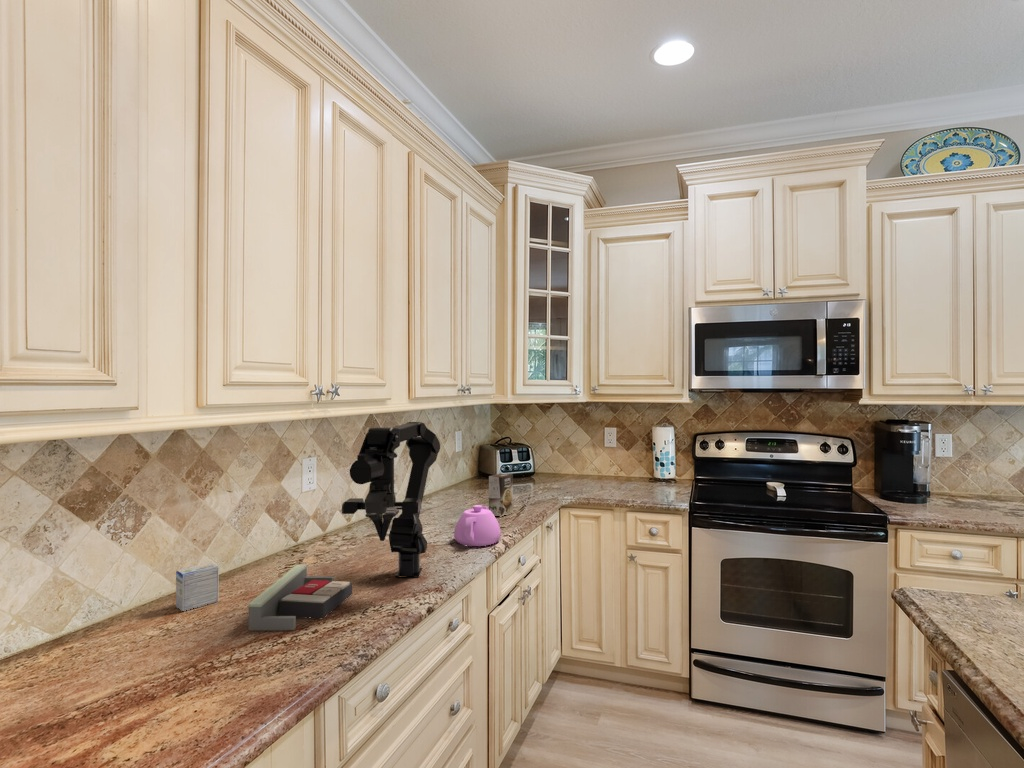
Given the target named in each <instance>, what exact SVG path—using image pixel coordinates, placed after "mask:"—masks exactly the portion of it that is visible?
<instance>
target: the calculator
mask: <svg viewBox="0 0 1024 768" xmlns="http://www.w3.org/2000/svg"><path fill="white" fill-rule="evenodd" d="M351 594H352V595H353V583H351V582H350V581H343V580H342V581H341V580H334V581H332V582H330V581H323V580H312V581H310V582H308V583H307V584H305V585H303V586H301V587H300V588H298V589H296V590H295V591H293V592H292V594H289V595H287V596H286V597H284V598H282V599H281V600H280V601H279V605H278V614H277V616H296V617H307V618H306V619H312V618H324V617H325V616H326V615H327V614H329V613H330V612H331V611H332V610H333V609H334V610H335V609H337V608H338V607H339V606H340V605H342V604H343V603H344V602H345V601H346V600H347V599H346V598H348V597H349V596H350V595H351ZM352 595H351V596H352ZM351 596H350V597H351ZM350 597H349V598H350ZM349 598H348V599H349ZM345 599H346V600H345ZM344 600H345V601H344ZM343 601H344V602H343ZM342 602H343V603H342ZM341 603H342V604H341ZM339 604H340V605H339ZM338 605H339V606H338ZM337 606H338V607H337ZM334 610H333V611H334ZM333 611H332V612H333ZM332 612H331V613H332ZM331 613H330V614H331ZM330 614H329V615H330ZM309 617H311V618H309ZM325 618H326V617H325ZM325 618H324V619H325Z"/></svg>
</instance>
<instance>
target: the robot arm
mask: <svg viewBox="0 0 1024 768" xmlns="http://www.w3.org/2000/svg"><path fill="white" fill-rule="evenodd" d="M405 441H406V442H405ZM402 442H405V445H406V447H407V448H408V456H409V458H410V461H411V470H410V474H409V478H408V483H407V488H406V492H405V496H404V497H405V498H404V500H402V501H397V500H396V495H395V494H396V493H395V458H397V457H398V454H397V453H396V452H395V451H396V449H397V448H399V447H400V446H401V443H402ZM440 450H441V443H440V440H439V438H438V436H437V434H436V433H434V432H433V431H431V430H430V429H429V428H428V427H427V426H426V424H425V423H424V422H422V421H409V422H406V423H404V424H399V425H397V426H393V427H375V426H374V427H373V426H372V427H370V428H369V429H368V431H367V432H366V434H365V437H364V440H363V441H362V444H361V447H360V449H359V452H358V455H357V458H356V459H357V460H355V461H353V463H352V464H351V466H350V468H349V476H350V478H351V479H352V481H353V482H354V483H355V484H357V485H364V484H368V483H369V489H368V493H367V494H366V497H365V499H364V498H363V497H362V498H356V497H355V498H354V497H353V498H352V497H351V498H348V499H347V500H345V501H344V502H343V503H342V505H341V514H342V515H354V514H355V513H357V511H358V510H359V511H360V510H361V511H362V510H363V511H365V514H364V515H365V517H366V518H369V519H370V520H371V521H372V522H373V525H374V527H375V531H376V533H377V535H378V538H379V541H380V542H383V541H385V540H386V536H387V534H388V531H389V534H388V543H389V547H390V552H391V553H398V556H397V558H398V565H397V566H398V570H397V571H396V573H395V575H394V577H395V576H419V575H420V576H421V574H422V572H423V570H422V569H423V568H422V567H420V562H421V560H420V558H421V557H420V555H422V554H426V551H427V548H428V541H427V540H426V537H425V535H424V534H423V529H424V528H423V525H422V523H421V520H420V519H421V518H420V514H421V510H422V504H423V499H424V493H425V489H426V484H427V479H428V474H429V469H430V467H432V465H433V464H434V463H435V462H436V461H437V458H438V455H439V453H440V452H441V451H440ZM400 510H401V514H399V513H400ZM398 514H399V516H398V517H396V516H397V515H398ZM391 522H392V523H391ZM390 525H391V528H389V527H390ZM389 529H390V530H389ZM421 571H422V572H421ZM420 573H421V574H420ZM420 576H419V577H420Z"/></svg>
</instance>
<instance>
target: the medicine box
mask: <svg viewBox="0 0 1024 768" xmlns="http://www.w3.org/2000/svg"><path fill="white" fill-rule="evenodd" d="M219 570H220V567H219V566H218V565H216V564H214V563H212V562H208V563H204V564H199V565H196V566H195V565H194V566H191V567H187V568H182V569H179V570H176V572H175V607H176V608H177V609H178V608H179V609H180V611H181V612H182V611H184V612H187V611H190V609H191V610H193V608H194V609H197V607H198V608H201V607H203V606H207V604H208V605H211V604H215V603H217V602H219V599H220V597H219V596H220V595H219V586H220V585H219V582H220V581H219V579H220V578H219V577H220V575H219V573H220V571H219ZM179 609H178V610H179ZM186 610H187V611H186Z"/></svg>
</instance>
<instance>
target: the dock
mask: <svg viewBox="0 0 1024 768" xmlns="http://www.w3.org/2000/svg"><path fill="white" fill-rule="evenodd" d="M307 571H308V565H307V564H296V565H294V567H292V568H291V569H289V570H288V571H287V572H286V573H284V574H283V575H282V576H281V577H280V578H279V579H277V580H276V581H275V582H274V583H272V584H271V585H269V587H268V588H267V589H265V590H264V591H262V593H260V594H259V595H258V596H256V597H255V598H254V599H253V600H251V601H250V602H249V603H248V604H247V606H248V623H247V624H248V631H295V630H296V628H297V618H296V616H278V605H279V601H280V600H281V599H282V598H284V597H286V596H287V595H289V594H292V592H293V591H295V590H296V589H298V588H300V587H301V586H303V585H305V584H307V583H308V582H310V581H312V580H323V581H330V582H332V581H335V577H334V576H333V575H332V576H331V575H329V576H328V575H323V576H322V575H317V576H316V575H315V576H309V575H308V574H307ZM307 575H308V576H307Z"/></svg>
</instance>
